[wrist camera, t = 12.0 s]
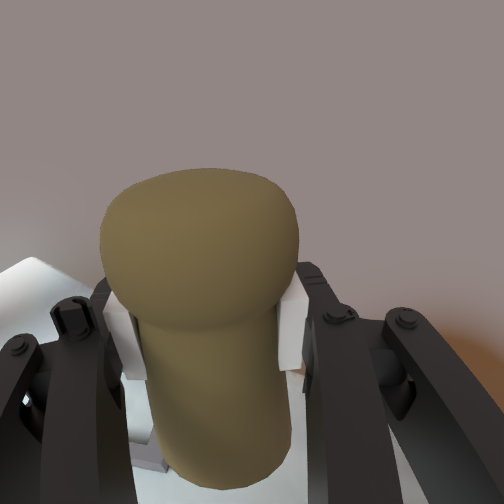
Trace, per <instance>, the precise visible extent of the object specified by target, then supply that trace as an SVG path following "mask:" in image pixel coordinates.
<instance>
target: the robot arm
mask: <svg viewBox="0 0 504 504" xmlns="http://www.w3.org/2000/svg"><path fill="white" fill-rule="evenodd" d="M276 311H277V327H278V363H279V369H280V371H285V370H293V369H300V368H301V363H302V357H303V359H304V362H305V365H306V372H305V378H304V385H303V391H302V393H305V398H306V424H307V461H308V504H403V500H402V493H401V487H400V482H399V476H398V470H397V465H396V460H395V455H394V450H393V445H392V440H391V436H390V431H389V427H388V424H389V426H390V428H391V430H392V432H393V434H394V435H395V437H396V439H397V441H398V443H399V445H400V447H401V449H402V451H403V453H404V455H405V457H406V459H407V460H408V462H409V464H410V466H411V468H412V470H413V472H414V474H415V476H416V478H417V480H418V482H419V484H420V486H421V488H422V490H423V492H424V494H425V496H426V498H427V500H428V502H429V504H504V414H503V412H502V411H501V410H500V408H499V407H498V406H497V404H496V403H495V402H494V400H493V399H492V398H491V396H490V395H489V394H488V392H487V391H486V390H485V389H484V387H483V386H482V385H481V384H480V382H479V381H478V380H477V378H476V377H475V376H474V375H473V373H472V372H471V371H470V370H469V368H468V367H467V366H466V365H465V364H464V362H463V361H462V360H461V359H460V358H459V356H458V355H457V354H456V353H455V351H454V350H453V349H452V348H451V347H450V346H449V344H448V343H447V342H446V341H445V340H444V339H443V338H442V337H441V335H440V334H439V333H438V332H437V330H436V329H435V328H434V327H433V326H432V325H431V324H430V323H429V321H428V320H427V319H426V318H425V317H424V316H423V315H422V314H420V313H419V312H417V311H415V310H413V309H410V308H404V307H400V308H394V309H391V310H390V311H389V312H388V313H387V314H386V317H385V321H382V320H368V319H362V318H359V315H358V314H357V312H356V311H355V310H354V309H353V308H351V307H350V306H348V305H344V304H342V303H340V302H339V300H338V299H337V297H336V295H335V294H334V292H333V290H332V289H331V287H330V286H329V284H327V281H326V279H325V278H324V277H323V274H322V272H321V271H320V269H319V268H318V267H317V266H315V265H314V264H312V263H311V262H300V263H299V262H298V263H297V267H296V270H295V272H294V275H293V278H292V281H291V284H290V285H289V287H288V288H287V290H286V291H285V293H284V294H283V296H282V297H281V299H280V300H279V301H278V302H277V303H276ZM50 315H51V317H52V320H53V322H54V325H55V327H56V329H57V332H58V334H59V339H58V340H57V341H53V342H49V343H45V344H40V345H39V343H38V341H37V339H36V338H35V337H34V336H33V335H32V334H28V333H25V334H19V335H16V336H14V337H13V338H11V339H10V340H8V341H7V343H6V344H5V345H4V346H3V348H2V349H1V351H0V504H138V501H137V495H136V490H135V484H134V477H133V471H132V464H131V456H130V448H129V439H128V430H127V419H126V406H125V391H124V387H123V384H122V382H121V379H120V378H121V374H122V370H124V373H125V375H126V377H127V380H147V375H146V368H145V363H144V358H143V353H142V348H141V342H140V337H139V331H138V325H137V319H136V317H134V316H133V315H132V314H131V313H130V312H129V311H128V310H127V309H126V308H125V307H124V306H123V305H122V304H121V303H120V302H119V301H118V299H117V298H116V296H115V294H114V293H113V291H112V289H111V288H110V286H109V284H108V282H107V278H106V277H105V278H104V279H103V280H101V281H100V282H99V283H98V284H97V286H96V288H95V290H94V292H93V294H92V295H91V297H90V300H89V299H88V298H86V297H82V296H74V297H70V298H66V299H64V300H62V301H60V302H58V303H57V304H56V305H55V306H54V307H53V308H52V309H51V311H50ZM25 394H26V395H27V397H28V398H29V401H28V403H27V404H26V405H24V403H23V402H22V401H23V399H24V397H25Z"/></svg>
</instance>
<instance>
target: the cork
mask: <svg viewBox="0 0 504 504" xmlns="http://www.w3.org/2000/svg"><path fill="white" fill-rule="evenodd" d="M298 250H299V229H298V224H297V219H296V214H295V209H294V207H293V206H292V204H291V202H290V201H289V199H288V198H287V196H286V194H285V192H284V191H283V190H282V189H281V188H280V187H279V186H278V185H277V184H275V183H273V182H271V181H269V180H268V179H267V178H265V177H262V176H259V175H256V174H253V173H247V172H242V171H236V170H229V169H217V168H206V169H205V168H203V169H189V170H182V171H175V172H170V173H167V174H162V175H159V176H156V177H153V178H150V179H147V180H144V181H142V182H139V183H136V184H134V185H132V186H130V187H129V188H127V189H125V190H124V191H123V192H121V193H120V194H119V195H118V196H117V197H116V198H115V199H114V200H113V201H112V202H111V204H110V205H109V207H108V208H107V211H106V214H105V216H104V219H103V222H102V224H101V227H100V253H101V258H102V263H103V267H104V271H105V275H106V278H107V282H108V284H109V286H110V288H111V289H112V291H113V293H114V294H115V296H116V298H117V299H118V301H119V302H120V303H121V304H122V305H123V306H124V307H125V308H126V309H127V310H128V311H129V312H130V313H131V314H132V315H133V316H134V317H136V319H137V325H138V331H139V337H140V342H141V348H142V353H143V358H144V363H145V368H146V375H147V380H145V383H146V389H147V394H148V399H149V405H150V409H151V414H152V419H153V424H154V428H155V433H156V437H157V441H158V445H159V448H160V450H161V452H162V455H163V457H164V459H165V462H166V463H167V464H168V465H169V466H170V467H171V468H172V469H173V470H174V471H175V472H176V473H177V474H178V475H179V476H180V477H182V478H184V479H186V480H187V481H189V482H191V483H193V484H195V485H198V486H200V487H206V488H212V489H218V490H229V489H236V488H243V487H248V486H250V485H252V484H254V483H257V482H259V481H261V480H263V479H265V478H267V477H268V476H269V475H270V474H271V473H273V472H274V471H275V470H276V469H277V468H278V467H279V466H280V465H281V464H282V463H283V461H284V459H285V457H286V455H287V453H288V451H289V448H290V446H291V431H292V428H291V418H290V409H289V400H288V391H287V382H286V373H285V371H280V369H279V363H278V327H277V311H276V303H277V302H278V301H279V300H280V299H281V297H282V296H283V294H284V293H285V291H286V290H287V288H288V287H289V285H290V284H291V281H292V278H293V275H294V272H295V270H296V267H297V263H298Z"/></svg>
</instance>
